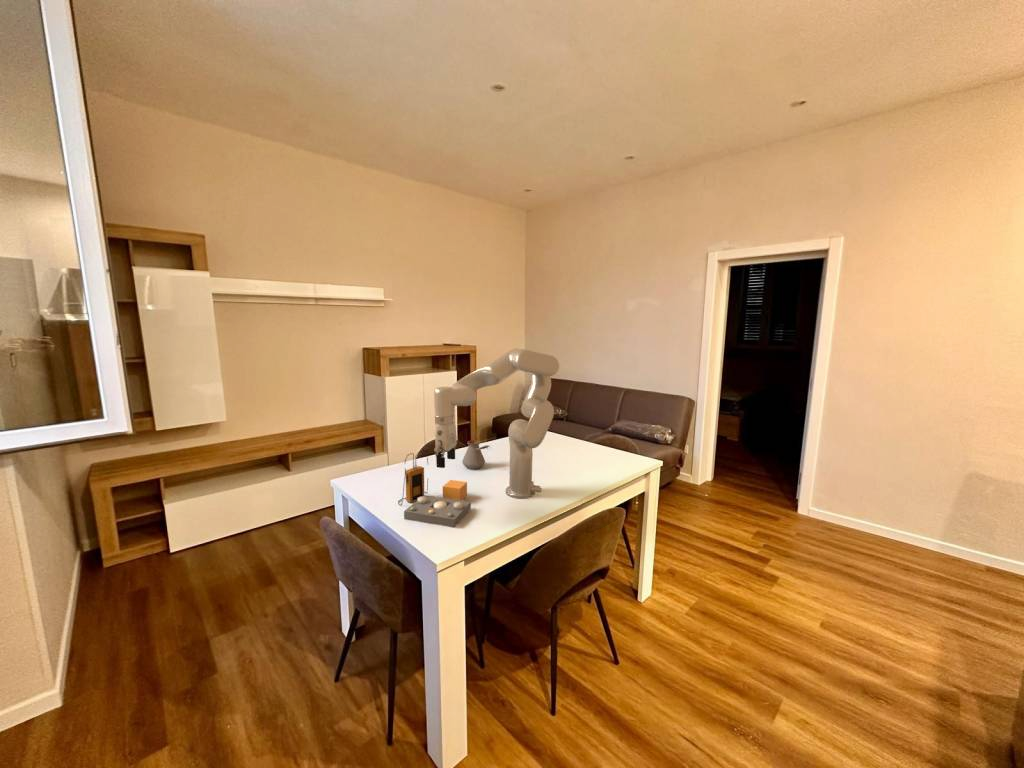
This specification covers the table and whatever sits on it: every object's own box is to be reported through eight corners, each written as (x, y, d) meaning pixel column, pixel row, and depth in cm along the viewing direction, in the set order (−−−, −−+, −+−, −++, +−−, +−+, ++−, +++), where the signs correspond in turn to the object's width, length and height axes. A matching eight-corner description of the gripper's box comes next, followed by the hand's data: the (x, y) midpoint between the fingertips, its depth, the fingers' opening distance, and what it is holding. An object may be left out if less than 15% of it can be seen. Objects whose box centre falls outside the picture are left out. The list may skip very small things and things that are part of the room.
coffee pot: (458, 465, 205) (458, 436, 203) (478, 461, 211) (478, 433, 209) (478, 479, 187) (478, 447, 185) (499, 474, 193) (499, 444, 191)
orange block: (466, 495, 169) (466, 482, 168) (459, 503, 162) (459, 488, 161) (450, 493, 171) (450, 479, 170) (442, 500, 164) (442, 486, 163)
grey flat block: (470, 509, 156) (470, 498, 156) (454, 527, 142) (454, 515, 141) (424, 502, 162) (424, 491, 161) (404, 519, 147) (403, 507, 147)
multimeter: (416, 488, 175) (415, 443, 172) (431, 495, 169) (431, 448, 166) (387, 499, 164) (385, 451, 161) (402, 506, 158) (400, 457, 155)
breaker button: (448, 509, 155) (448, 502, 154) (443, 515, 150) (443, 507, 150) (437, 507, 156) (437, 500, 156) (431, 513, 152) (431, 505, 151)
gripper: (444, 425, 143) (446, 472, 146) (462, 415, 160) (463, 456, 163) (425, 424, 145) (427, 470, 148) (445, 414, 162) (446, 455, 164)
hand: (446, 463), depth 155 cm, fingers open, 9 cm apart
